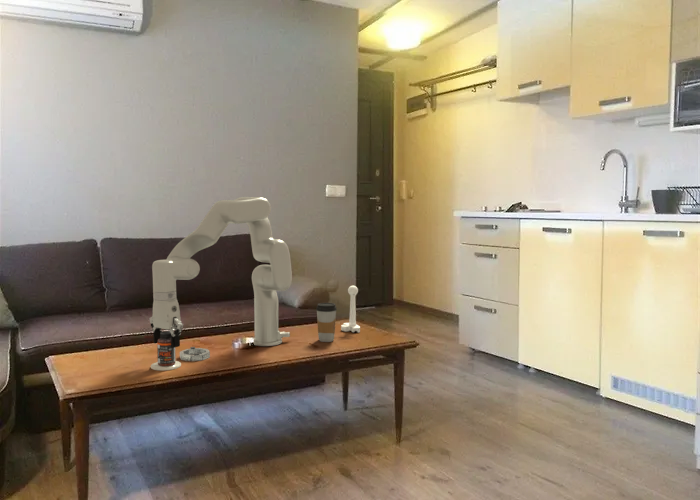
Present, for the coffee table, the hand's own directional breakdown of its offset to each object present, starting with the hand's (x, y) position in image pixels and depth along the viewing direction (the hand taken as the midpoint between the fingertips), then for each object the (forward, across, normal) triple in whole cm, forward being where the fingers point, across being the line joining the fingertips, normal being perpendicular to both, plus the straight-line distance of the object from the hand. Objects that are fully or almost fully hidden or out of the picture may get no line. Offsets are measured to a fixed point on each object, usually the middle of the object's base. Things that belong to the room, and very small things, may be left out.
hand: (166, 344), depth 202 cm
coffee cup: (+9, -20, -63) cm, 67 cm away
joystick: (+9, -17, -83) cm, 85 cm away
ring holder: (+8, +2, -13) cm, 15 cm away
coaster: (+7, 0, +1) cm, 8 cm away
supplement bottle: (+7, 0, 0) cm, 7 cm away
